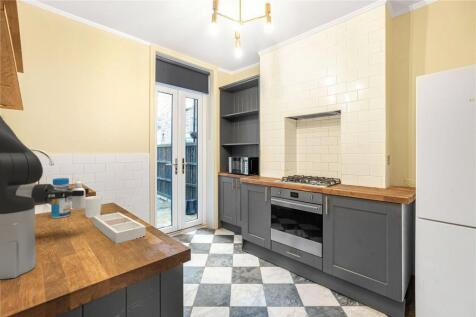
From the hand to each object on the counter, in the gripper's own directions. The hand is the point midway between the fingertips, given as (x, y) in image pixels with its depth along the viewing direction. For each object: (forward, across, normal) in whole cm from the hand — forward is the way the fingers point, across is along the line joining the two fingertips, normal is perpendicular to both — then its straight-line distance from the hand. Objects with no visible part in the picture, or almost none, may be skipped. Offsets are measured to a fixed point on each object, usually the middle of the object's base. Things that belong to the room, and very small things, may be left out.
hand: (85, 192), depth 92 cm
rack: (+11, +2, +17) cm, 21 cm away
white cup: (-7, +30, +17) cm, 35 cm away
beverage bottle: (-23, +34, +17) cm, 45 cm away
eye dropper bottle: (-3, 0, +7) cm, 7 cm away
